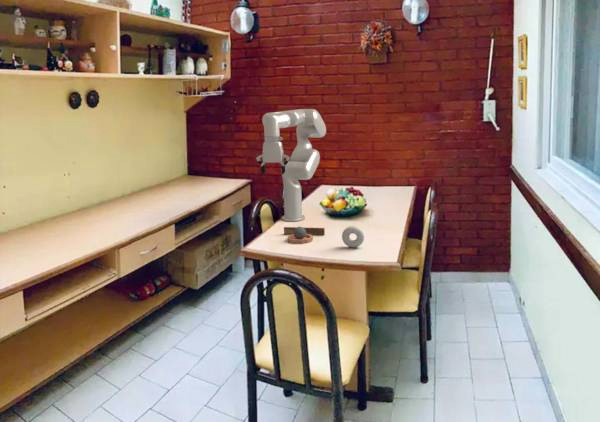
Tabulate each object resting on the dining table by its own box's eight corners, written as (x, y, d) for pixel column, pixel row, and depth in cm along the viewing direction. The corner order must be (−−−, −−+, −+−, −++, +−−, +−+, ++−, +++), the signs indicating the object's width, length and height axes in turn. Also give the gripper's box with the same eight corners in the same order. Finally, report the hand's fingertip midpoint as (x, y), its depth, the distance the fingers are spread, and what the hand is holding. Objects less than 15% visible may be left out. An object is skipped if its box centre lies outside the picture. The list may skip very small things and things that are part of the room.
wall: (284, 233, 275) (284, 227, 275) (324, 234, 272) (324, 227, 271) (284, 234, 274) (283, 227, 274) (324, 235, 270) (324, 228, 270)
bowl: (290, 236, 270) (290, 233, 270) (314, 237, 268) (314, 233, 267) (285, 243, 259) (285, 239, 259) (310, 244, 257) (309, 240, 256)
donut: (341, 248, 249) (341, 226, 247) (342, 246, 252) (342, 224, 250) (363, 249, 247) (363, 227, 245) (364, 246, 250) (364, 225, 248)
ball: (295, 237, 267) (294, 225, 265) (307, 237, 266) (306, 225, 264) (292, 241, 261) (291, 228, 260) (305, 241, 260) (304, 228, 258)
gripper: (290, 138, 278) (292, 172, 282) (257, 139, 282) (259, 172, 286) (287, 140, 271) (288, 175, 275) (253, 140, 275) (255, 175, 279)
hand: (273, 173), depth 280 cm, fingers open, 9 cm apart
